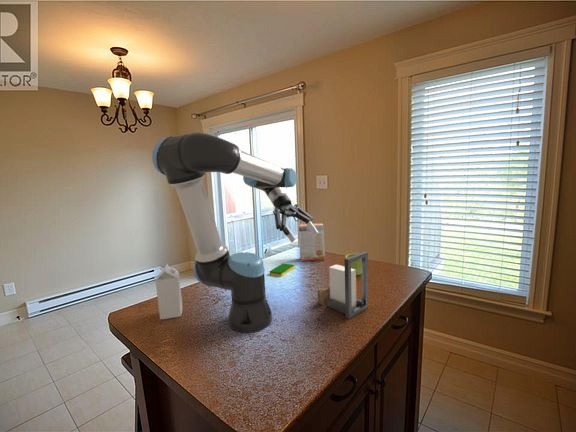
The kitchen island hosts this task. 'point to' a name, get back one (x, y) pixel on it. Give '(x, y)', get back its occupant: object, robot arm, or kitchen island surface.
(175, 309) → the milk carton
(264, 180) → the robot arm
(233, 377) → the kitchen island surface
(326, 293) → the offcut stack
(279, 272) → the dish sponge
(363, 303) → the frame
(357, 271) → the plant pot
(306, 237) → the cracker box
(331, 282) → the white block
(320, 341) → the kitchen island surface
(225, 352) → the kitchen island surface
